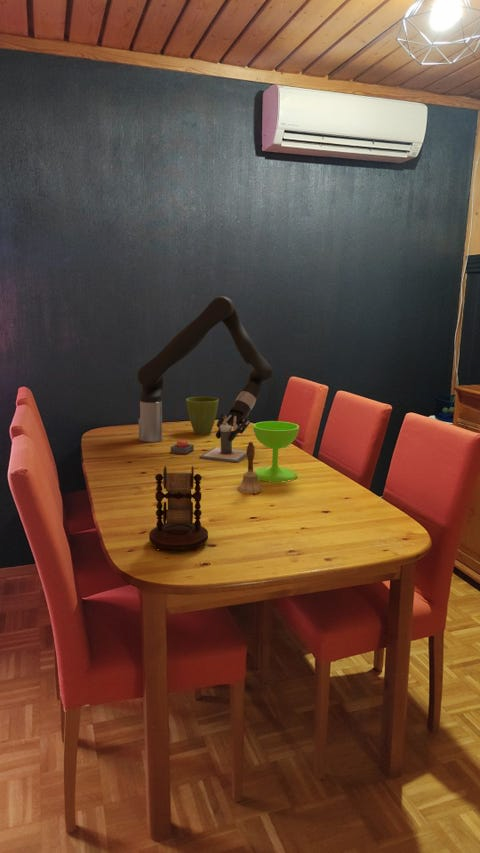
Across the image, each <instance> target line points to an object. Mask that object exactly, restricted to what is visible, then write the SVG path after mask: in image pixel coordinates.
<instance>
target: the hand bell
mask: <svg viewBox="0 0 480 853" xmlns="http://www.w3.org/2000/svg"><path fill="white" fill-rule="evenodd" d="M246 450H247V457H246V458H247V471H246V472H244V473H243V476H242V477H243V478H242V482H241V484H239V486H237V488H236V489H237V491H238V492H239V491H240V492H239V493H242V492H245V493H244V494H247V493H255V492H259V491H262V489H263V487H262V486H261V485H260V483H259V480H258V477H257V474H256V473H255V472H254V458H255V452H256V451H255V446H254V443H253V442H252V441H249V442H248V444H247V448H246ZM262 492H263V491H262ZM255 494H256V493H255Z"/></svg>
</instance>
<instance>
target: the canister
mask: <svg viewBox="0 0 480 853" xmlns="http://www.w3.org/2000/svg"><path fill="white" fill-rule="evenodd" d="M232 427H233V426H232V425H228V424H227V425H221V426H220V430H221V437H220V448H221V454H231V453H232V449H233V441H232V442H231V441H229V440H228V437H229V435H230V434H231V432H232V431H233V429H232Z"/></svg>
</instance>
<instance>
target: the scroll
mask: <svg viewBox="0 0 480 853" xmlns="http://www.w3.org/2000/svg"><path fill="white" fill-rule="evenodd" d="M194 471H195V470H194V466H193V465H192V466H191V472H168V471H167V466H166V465H164V466H163V474H162V473H157V474H156V475H155V477H154V480H155V483H156V484H157V485H156V488H155V490H156V492H155V495H154V496H155V500H156V506H155V507H156V511H155V515H156V519H157V521H156V526H155V527H153V528H152V529H151V530H150V531H149V532H148V533H149V536H148V539H149V541H150V543H151V544H153V545H154V546H155V549H156V550H157V549H161V548H162V549H166V550H188V549H193V548H194V550H195V549H196V550H197V549H198V550H199V548H200V546H201V545H203V544H205V542H207V541H208V538H209V531H208V529H206V528H205V527H204V526H202V523H201V521H200V520H201V519H202V518H201V516H202V510H201V505H202V504H201V503H200V502H201V501H202V492H201V484H202V482H201V480H202V479H203V478H202V475H201V474H199V473H196V474H195V473H194ZM194 474H195V475H194ZM162 484H163V485H162ZM194 484H195V485H194ZM194 486H195V487H194ZM163 489H164V490H165V492H166V493H164V492H163ZM193 489H194V493H192V490H193ZM164 498H165V499H166V500H167V501H164V502H163V499H164ZM192 499H194V502H195V504H194V503H193V501H192ZM162 502H163V503H162ZM194 520H195V522H194ZM196 550H195V551H196ZM198 550H197V551H198Z"/></svg>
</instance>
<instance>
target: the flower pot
mask: <svg viewBox="0 0 480 853" xmlns="http://www.w3.org/2000/svg"><path fill="white" fill-rule="evenodd" d="M219 400H220V399H219V398H217V397H213V396H212V397H211V396H192V397H187V398H186V399H185V404H186V410H187V413H188V418H189V422H190V425H191V427H192V430H193V432H194V434H195V435H198V436H207V435H211V433H212V430H213V428H214V426H215V422H216V418H217V414H218V408H219Z"/></svg>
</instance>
